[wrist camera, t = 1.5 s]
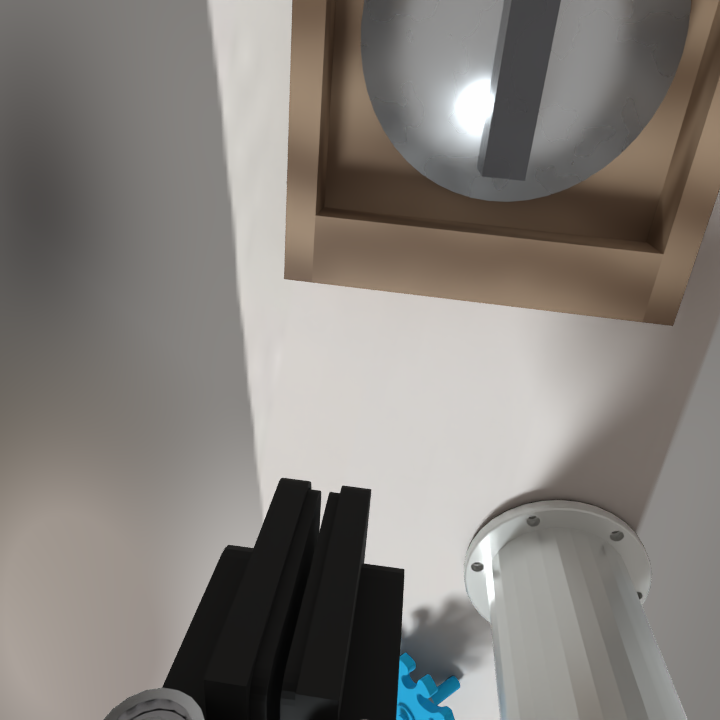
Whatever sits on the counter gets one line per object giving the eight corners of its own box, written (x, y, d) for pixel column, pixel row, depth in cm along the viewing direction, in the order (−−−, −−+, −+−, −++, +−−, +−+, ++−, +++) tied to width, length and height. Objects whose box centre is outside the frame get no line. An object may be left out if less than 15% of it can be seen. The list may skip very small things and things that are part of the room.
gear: (377, 631, 44) (467, 759, 38) (432, 597, 47) (523, 710, 41) (348, 701, 50) (422, 821, 44) (399, 666, 53) (474, 773, 47)
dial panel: (646, 300, 32) (674, 327, 29) (297, 259, 34) (280, 279, 30) (829, -283, 22) (909, -361, 19) (320, -304, 24) (298, -379, 20)
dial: (626, 211, 29) (663, 232, 24) (353, 181, 30) (337, 197, 25) (724, -142, 23) (798, -204, 18) (379, -162, 24) (365, -226, 19)
